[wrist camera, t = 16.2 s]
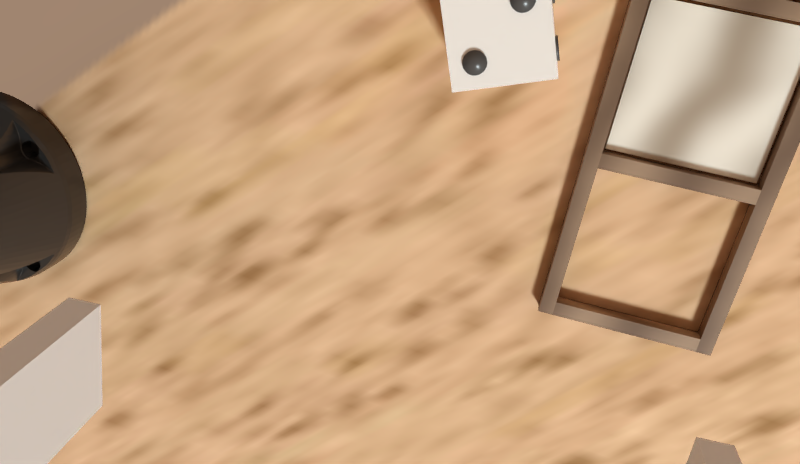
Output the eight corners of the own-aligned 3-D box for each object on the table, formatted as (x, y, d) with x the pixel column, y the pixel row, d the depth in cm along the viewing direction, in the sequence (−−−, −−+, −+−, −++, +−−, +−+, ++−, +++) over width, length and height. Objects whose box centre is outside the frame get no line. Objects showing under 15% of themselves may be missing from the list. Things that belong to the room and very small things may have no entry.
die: (464, 76, 47) (451, 92, 41) (451, -20, 45) (437, -17, 39) (559, 63, 45) (561, 78, 40) (551, -36, 43) (551, -36, 38)
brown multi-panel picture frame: (538, 304, 51) (538, 310, 50) (702, -245, 38) (706, -250, 37) (707, 348, 50) (710, 355, 49) (937, -206, 37) (947, -210, 36)
